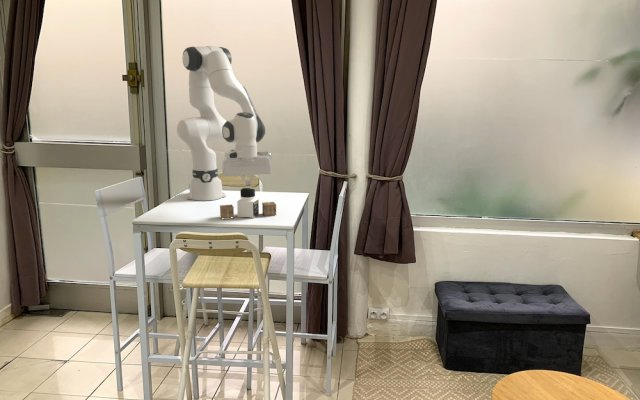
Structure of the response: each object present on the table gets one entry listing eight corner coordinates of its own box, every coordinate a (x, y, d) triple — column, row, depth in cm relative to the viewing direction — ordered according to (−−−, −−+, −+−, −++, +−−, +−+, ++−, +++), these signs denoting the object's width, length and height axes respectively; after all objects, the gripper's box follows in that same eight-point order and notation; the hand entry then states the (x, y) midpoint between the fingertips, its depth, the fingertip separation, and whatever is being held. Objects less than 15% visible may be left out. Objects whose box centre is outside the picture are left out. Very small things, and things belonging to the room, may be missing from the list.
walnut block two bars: (262, 213, 233) (262, 202, 231) (273, 212, 234) (273, 201, 233) (264, 216, 228) (264, 205, 227) (276, 215, 229) (276, 204, 228)
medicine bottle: (253, 218, 224) (253, 190, 222) (237, 217, 226) (236, 189, 223) (259, 214, 231) (258, 187, 228) (243, 213, 233) (242, 186, 230)
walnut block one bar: (220, 216, 228) (219, 205, 226) (232, 215, 229) (231, 204, 228) (221, 219, 223) (221, 207, 222) (234, 218, 224) (233, 207, 223)
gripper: (269, 150, 228) (270, 182, 231) (221, 152, 222) (222, 185, 225) (272, 152, 222) (273, 185, 225) (222, 154, 216) (224, 188, 220)
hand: (247, 185), depth 225 cm, fingers closed
